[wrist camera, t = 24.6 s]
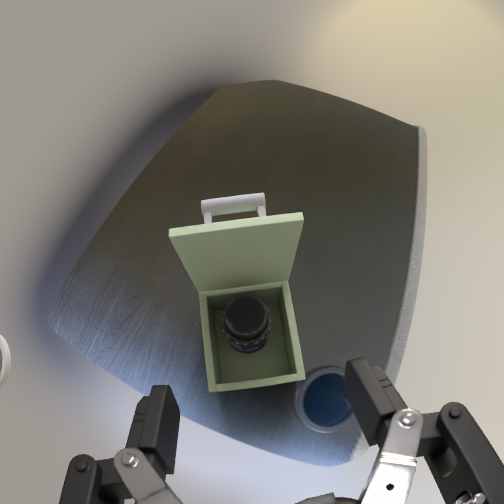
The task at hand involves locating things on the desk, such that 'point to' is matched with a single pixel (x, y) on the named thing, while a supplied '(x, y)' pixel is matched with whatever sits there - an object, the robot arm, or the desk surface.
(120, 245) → the desk surface
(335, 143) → the desk surface
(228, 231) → the green box lid
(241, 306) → the pill bottle
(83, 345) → the desk surface
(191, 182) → the desk surface
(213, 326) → the pale green open box
